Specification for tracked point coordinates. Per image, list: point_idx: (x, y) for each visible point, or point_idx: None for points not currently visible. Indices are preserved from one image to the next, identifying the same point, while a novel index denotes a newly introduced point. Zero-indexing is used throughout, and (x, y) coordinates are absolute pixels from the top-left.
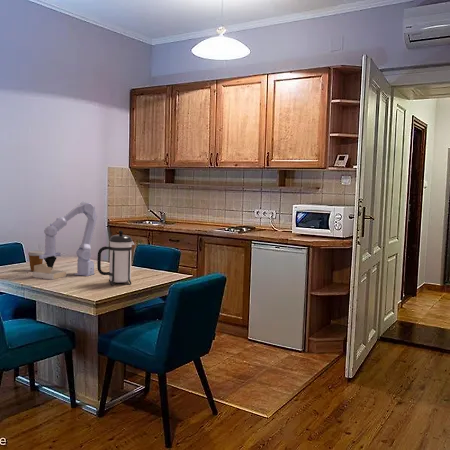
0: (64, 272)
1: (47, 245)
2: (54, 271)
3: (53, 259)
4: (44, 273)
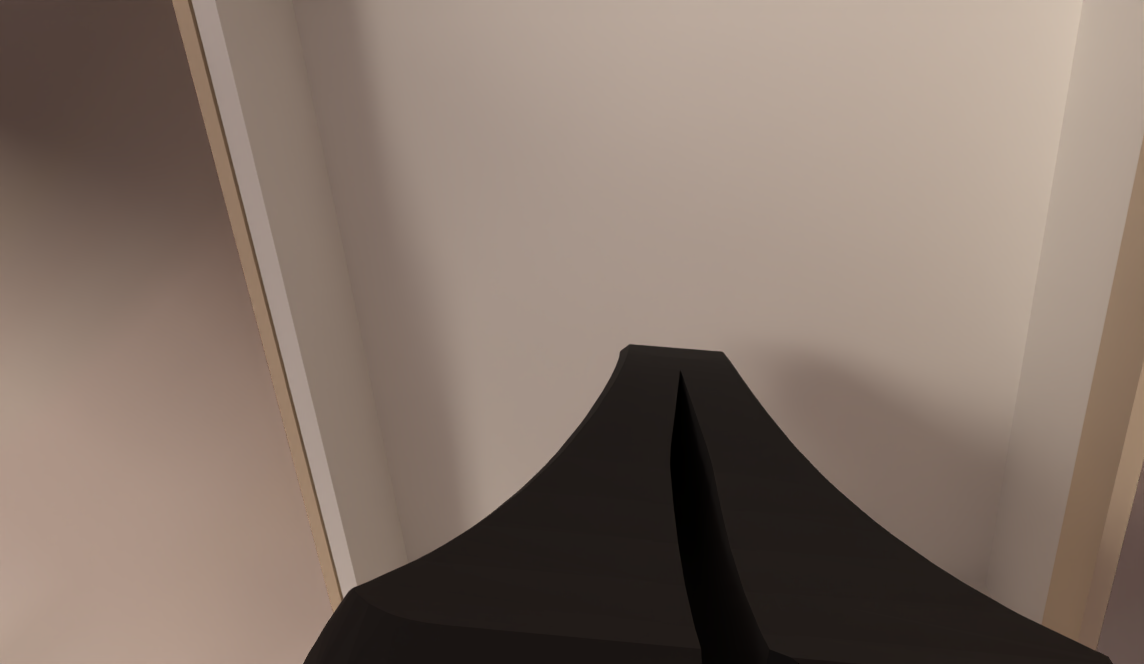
0: None
1: None
2: (335, 412)
3: (685, 634)
4: None
